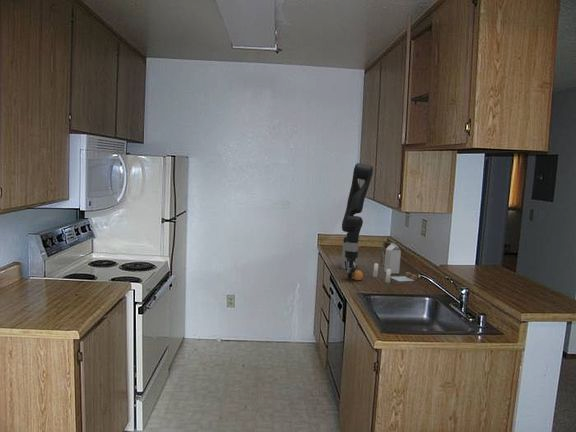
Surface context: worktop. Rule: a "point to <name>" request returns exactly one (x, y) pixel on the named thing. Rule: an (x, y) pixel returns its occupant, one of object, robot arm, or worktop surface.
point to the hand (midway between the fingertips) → (349, 278)
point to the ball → (357, 275)
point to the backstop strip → (411, 276)
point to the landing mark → (401, 278)
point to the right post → (388, 275)
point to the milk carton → (392, 258)
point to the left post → (375, 270)
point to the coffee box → (384, 251)
